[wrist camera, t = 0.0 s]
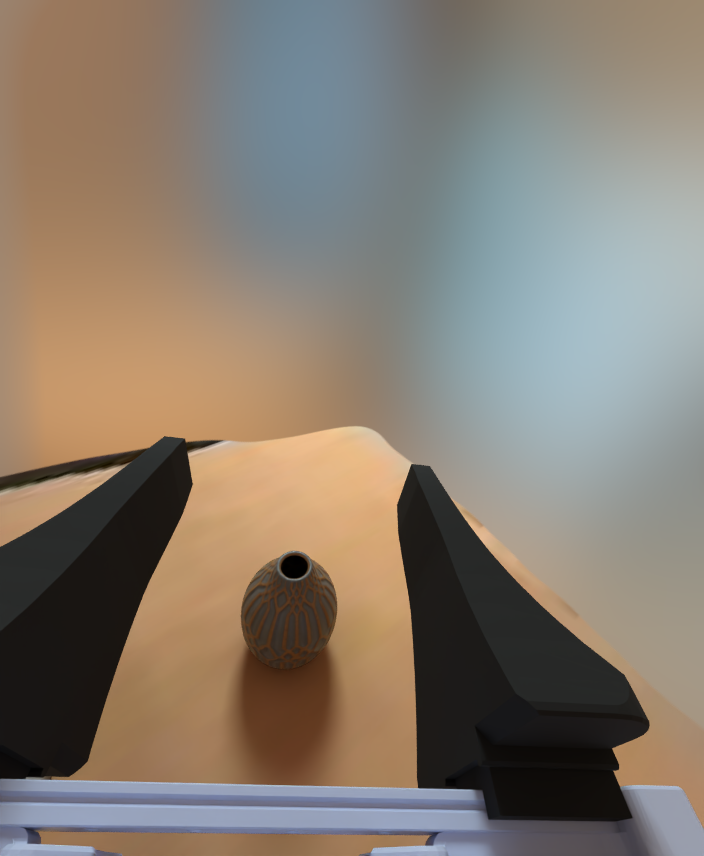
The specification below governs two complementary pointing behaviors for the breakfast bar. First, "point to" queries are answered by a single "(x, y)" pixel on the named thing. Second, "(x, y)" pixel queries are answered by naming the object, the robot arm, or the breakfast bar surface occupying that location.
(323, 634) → the vase
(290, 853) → the breakfast bar surface
